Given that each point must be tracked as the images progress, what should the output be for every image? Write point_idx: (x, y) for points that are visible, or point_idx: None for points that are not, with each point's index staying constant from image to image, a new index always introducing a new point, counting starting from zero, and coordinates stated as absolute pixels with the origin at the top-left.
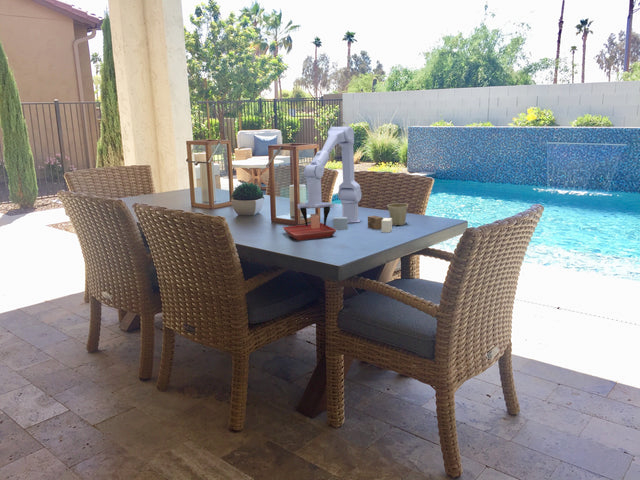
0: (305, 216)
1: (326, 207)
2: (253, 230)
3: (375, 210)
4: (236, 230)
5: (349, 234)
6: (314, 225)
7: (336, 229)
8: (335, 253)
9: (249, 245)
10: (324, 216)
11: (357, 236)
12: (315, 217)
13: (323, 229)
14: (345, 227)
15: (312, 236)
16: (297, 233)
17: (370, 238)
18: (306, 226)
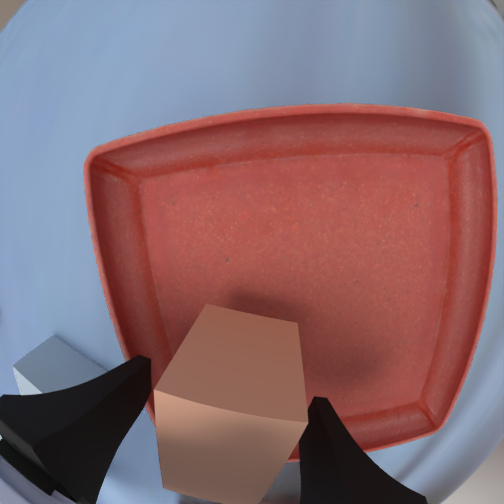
0: (355, 466)
1: (25, 470)
2: (470, 450)
3: None
4: (495, 446)
5: (46, 208)
6: (262, 333)
7: (99, 367)
8: None
9: None
10: (99, 402)
11: (31, 142)
12: (228, 398)
13: None
14: (52, 345)
15: (333, 133)
16: (383, 364)
17: (15, 91)
18: None
